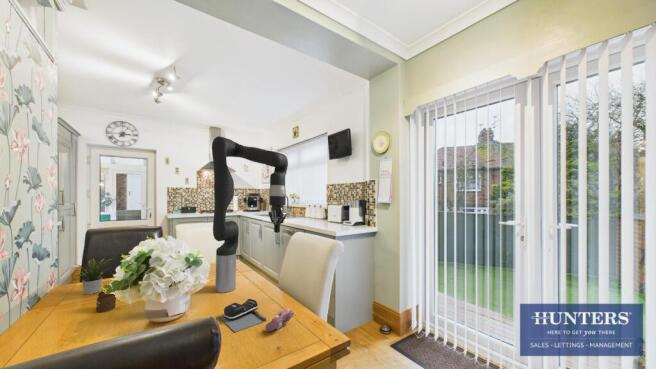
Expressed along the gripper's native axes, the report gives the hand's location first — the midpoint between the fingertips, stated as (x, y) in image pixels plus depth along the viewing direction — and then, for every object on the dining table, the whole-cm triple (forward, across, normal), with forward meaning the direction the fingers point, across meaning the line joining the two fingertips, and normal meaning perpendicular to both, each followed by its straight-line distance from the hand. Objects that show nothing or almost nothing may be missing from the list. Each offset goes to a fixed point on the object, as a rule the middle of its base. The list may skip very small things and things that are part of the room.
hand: (277, 232), depth 118 cm
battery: (+26, +6, -14) cm, 30 cm away
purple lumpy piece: (+29, +25, -14) cm, 41 cm away
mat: (+29, +11, -22) cm, 38 cm away
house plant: (+29, -61, -61) cm, 91 cm away
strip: (+29, +11, -16) cm, 35 cm away
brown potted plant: (+29, -34, -58) cm, 73 cm away
